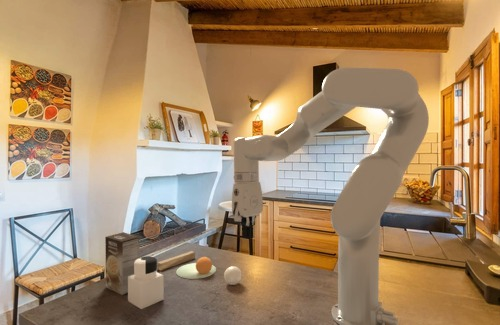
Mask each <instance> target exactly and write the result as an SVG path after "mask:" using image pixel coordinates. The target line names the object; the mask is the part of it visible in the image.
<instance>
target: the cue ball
mask: <svg viewBox="0 0 500 325" xmlns="http://www.w3.org/2000/svg"><path fill="white" fill-rule="evenodd" d="M242 276H243V275H242V271H241V269H240V268H239V267H238V266H234V265H232V266H229V267H227V268H226V270H225V271H224V272H223V277H224V281H225V283H227V285H230V286H235V285H238V284H239V283H240V282H241V280H242Z"/></svg>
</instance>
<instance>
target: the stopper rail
mask: <svg viewBox="0 0 500 325" xmlns="http://www.w3.org/2000/svg"><path fill="white" fill-rule="evenodd" d="M193 259H196V252H195V251H193V250H190V251H187V252H184V253H181V254H178V255H176V256H173V257H169V258H166V259H164V260H160V261H157V271H165V270H166V269H168V268H169V269H170V268H171V267H174V266H177V265H180V264H183V263H186V262H189V261H191V260H193Z"/></svg>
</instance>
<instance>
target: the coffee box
mask: <svg viewBox="0 0 500 325" xmlns="http://www.w3.org/2000/svg"><path fill="white" fill-rule="evenodd" d="M139 258H140V236H139V235H138V236H137V235H133V234H130V233H127V232H125V231H124V232H118V233H115V234H112V235H108V236H105V288H106V289H108V290H111V291H113V292H115V293H117V294H119V295H121V296H123V295H125V294H128V277H129V276H131V275H134V262H135V261H136V260H137V259H139Z"/></svg>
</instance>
